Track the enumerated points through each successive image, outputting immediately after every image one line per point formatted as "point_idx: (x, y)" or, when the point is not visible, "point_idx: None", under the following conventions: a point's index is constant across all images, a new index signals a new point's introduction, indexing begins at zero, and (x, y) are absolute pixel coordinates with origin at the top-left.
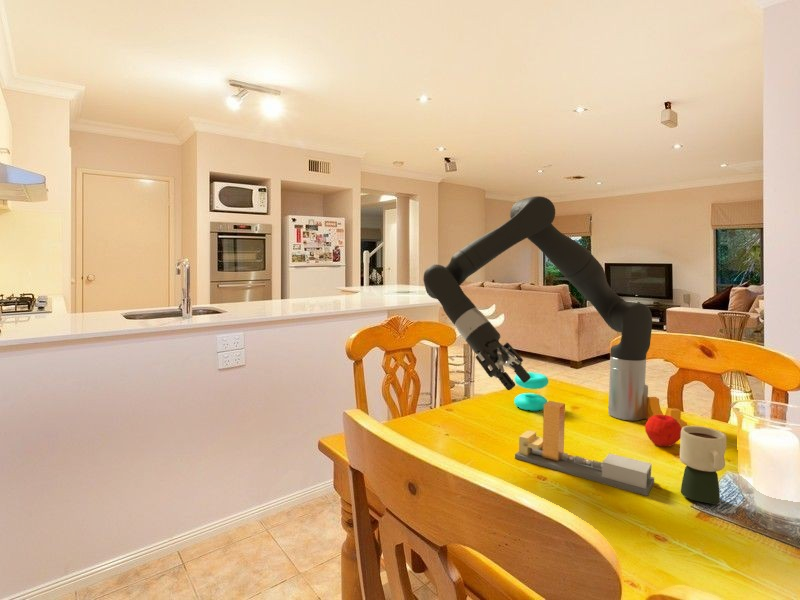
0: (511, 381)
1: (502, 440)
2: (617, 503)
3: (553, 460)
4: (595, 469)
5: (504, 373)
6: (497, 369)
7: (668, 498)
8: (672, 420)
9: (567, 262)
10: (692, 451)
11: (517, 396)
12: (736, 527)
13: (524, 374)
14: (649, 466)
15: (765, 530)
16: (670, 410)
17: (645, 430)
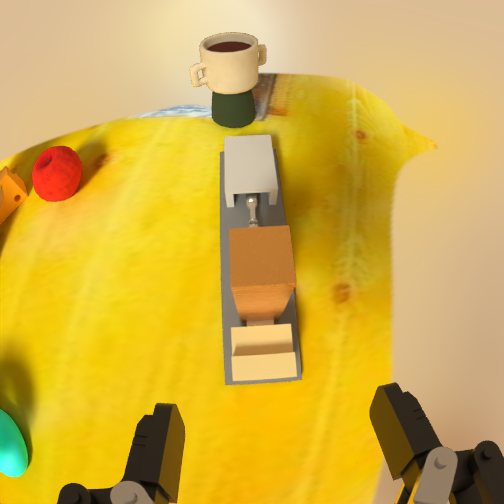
0: (405, 398)
1: (221, 451)
2: (327, 176)
3: None
4: None
5: (428, 445)
6: (489, 447)
7: None
8: (55, 147)
9: None
10: (257, 64)
11: (6, 471)
12: (277, 94)
13: (172, 437)
14: (239, 136)
15: (263, 82)
16: (6, 175)
17: (59, 195)
